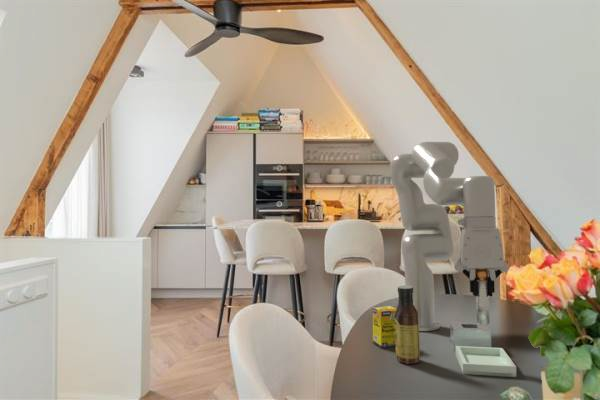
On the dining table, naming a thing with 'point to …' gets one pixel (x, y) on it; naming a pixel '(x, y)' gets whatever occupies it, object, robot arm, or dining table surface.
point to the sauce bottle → (407, 327)
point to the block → (469, 334)
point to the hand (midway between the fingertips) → (482, 294)
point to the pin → (482, 296)
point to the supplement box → (384, 326)
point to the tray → (485, 361)
